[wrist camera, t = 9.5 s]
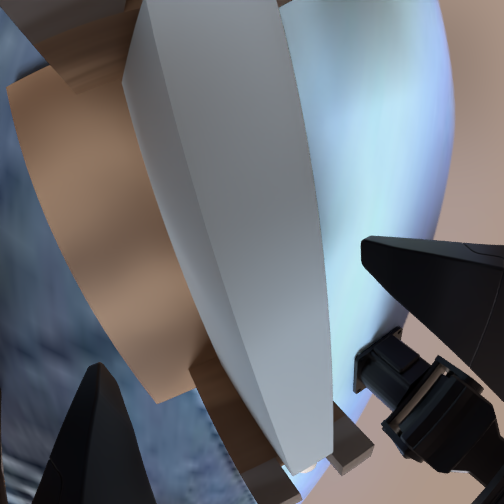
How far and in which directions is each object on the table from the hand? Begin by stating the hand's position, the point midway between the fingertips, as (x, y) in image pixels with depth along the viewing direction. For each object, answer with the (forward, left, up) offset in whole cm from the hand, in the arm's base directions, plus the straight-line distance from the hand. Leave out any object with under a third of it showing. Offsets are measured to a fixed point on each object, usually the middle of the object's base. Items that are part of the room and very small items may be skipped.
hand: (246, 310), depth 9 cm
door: (0, 0, -6) cm, 6 cm away
